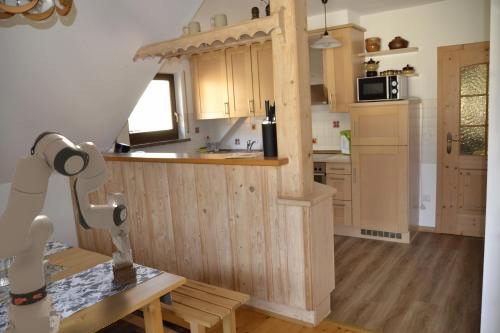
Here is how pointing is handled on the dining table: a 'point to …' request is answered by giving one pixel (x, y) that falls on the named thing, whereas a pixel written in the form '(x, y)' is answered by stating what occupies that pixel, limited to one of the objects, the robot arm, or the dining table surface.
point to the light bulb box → (47, 272)
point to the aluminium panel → (119, 261)
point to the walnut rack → (124, 274)
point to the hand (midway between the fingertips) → (122, 257)
